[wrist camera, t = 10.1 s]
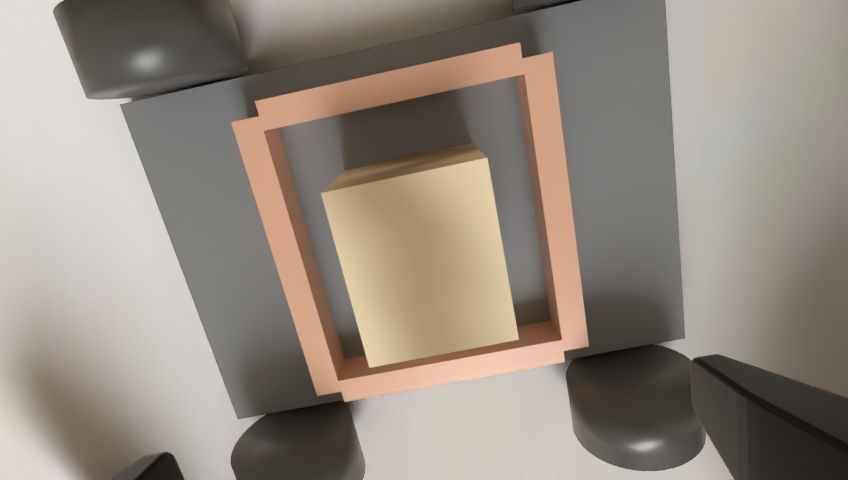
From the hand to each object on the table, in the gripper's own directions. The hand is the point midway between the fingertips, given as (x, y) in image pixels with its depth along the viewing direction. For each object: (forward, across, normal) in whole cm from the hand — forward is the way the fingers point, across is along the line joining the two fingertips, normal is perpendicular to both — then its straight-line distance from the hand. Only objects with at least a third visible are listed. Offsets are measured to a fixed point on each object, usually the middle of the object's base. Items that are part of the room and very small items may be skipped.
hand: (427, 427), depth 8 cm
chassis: (+12, 0, 0) cm, 12 cm away
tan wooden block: (+12, 0, 0) cm, 12 cm away
